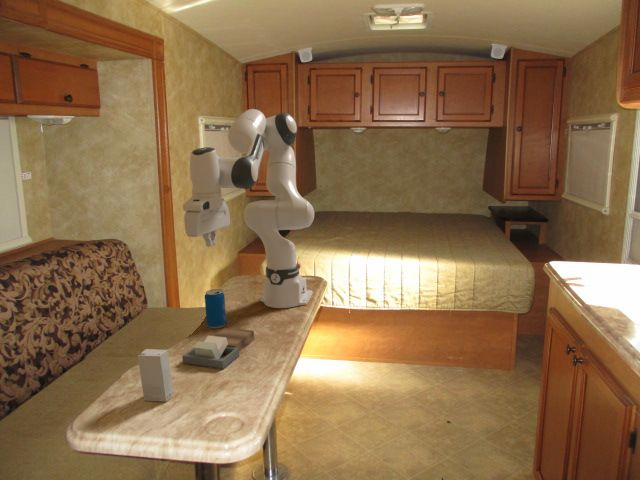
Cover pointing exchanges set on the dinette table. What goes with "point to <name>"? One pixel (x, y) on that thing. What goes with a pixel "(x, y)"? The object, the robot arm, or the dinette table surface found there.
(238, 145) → the robot arm
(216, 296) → the beverage can
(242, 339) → the walnut plate
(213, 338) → the tile back
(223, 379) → the dinette table surface
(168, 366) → the skincare box
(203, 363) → the box
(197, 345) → the tile front
